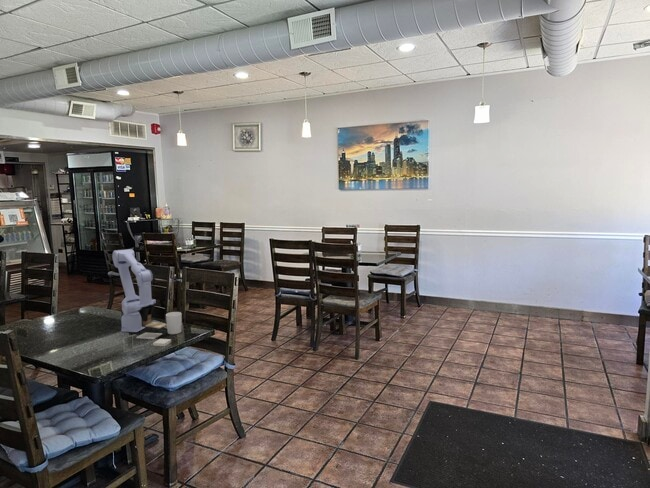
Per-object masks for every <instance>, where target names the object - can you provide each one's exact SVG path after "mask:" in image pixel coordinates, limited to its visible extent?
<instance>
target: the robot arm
mask: <svg viewBox="0 0 650 488" xmlns="http://www.w3.org/2000/svg"><path fill="white" fill-rule="evenodd" d="M135 256H136V255H135V251H134V250H133V248H128V249H117V250H116V249H115V250H113V252H112V256H111V257H112V261H113V262H112V263H113V265H114V267H115V268H116V269H118V273H119V277H120V281H121V285H122V288H123V291H124V295H125V298H124V299H122V301H121V310H122V313H123V314H122V316H121V319H120V321H121V330H120V332H124V333H125V332H126V333H127V332H128V333H138V332H139V331H142V330H143V329H145V328H146V326H142V325H143V323H142V322H143V321H145V322H146V321H147V315H148V314H151V317H153V316H152V315H153V311H154V309H155V308H156V306H155V304H156V303H157V302H156V301H157V300H156V299H153V298H152V296H153V295H152V283H151V282H153V278H154V275H153V273H152V270H150V269H147V268H146V267H145V266H144V265H143V264H142V263H141V262H138V260H137V259H136V257H135ZM129 267H130V269H131V271H132V273H133V274H134V275H135V278H136V282H137V286H138V294H136V292H135V288H134V284H133V281H132V277H131V272H130V269H129Z"/></svg>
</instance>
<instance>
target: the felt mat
mask: <svg viewBox="0 0 650 488" xmlns="http://www.w3.org/2000/svg"><path fill="white" fill-rule="evenodd" d="M162 335H163V332H162V333H161V332H143V333H141V334H140V335H138V336H136V337H135V338H136V339H141V340H143V339H144V340H155V339H157V338H159V337H160V336H162Z"/></svg>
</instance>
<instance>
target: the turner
mask: <svg viewBox="0 0 650 488" xmlns="http://www.w3.org/2000/svg"><path fill="white" fill-rule="evenodd" d="M142 325H143V326H144V327H145V328H146V327H148V328H154V329H162V328H163V327H165V326H167V323H164V322H163V323H162V322H157V321H156V322H155V321H152V316H151V314H148V315H147V321H146V322H145V321H142Z"/></svg>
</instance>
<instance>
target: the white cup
mask: <svg viewBox="0 0 650 488" xmlns="http://www.w3.org/2000/svg"><path fill="white" fill-rule="evenodd" d="M182 318H183V317H182V312H181V311H172V312H168V313H166V314H165V322H166V323H165V324H166V329H167V334H169V335H178V334H180V333H181V332H182V323H183V321H182Z"/></svg>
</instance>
